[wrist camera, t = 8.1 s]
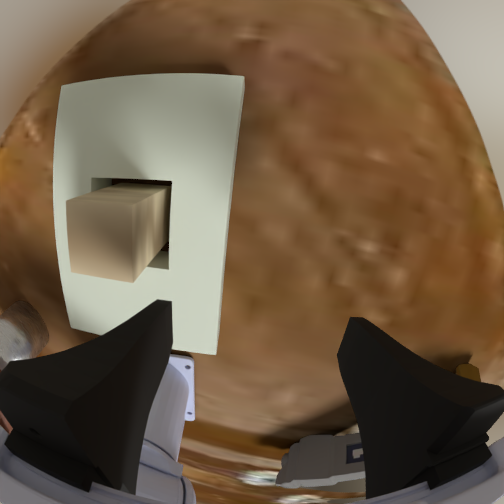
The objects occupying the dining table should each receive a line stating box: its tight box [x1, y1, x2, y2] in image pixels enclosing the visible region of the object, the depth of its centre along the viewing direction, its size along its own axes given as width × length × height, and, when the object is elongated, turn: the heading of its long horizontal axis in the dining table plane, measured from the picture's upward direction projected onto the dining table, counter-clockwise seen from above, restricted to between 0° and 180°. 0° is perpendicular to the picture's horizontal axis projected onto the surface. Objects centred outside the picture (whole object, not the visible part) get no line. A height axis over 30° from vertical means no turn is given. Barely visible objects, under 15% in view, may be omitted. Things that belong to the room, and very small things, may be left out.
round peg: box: [0, 301, 49, 371], centre depth 19 cm, size 6×6×6 cm
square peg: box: [66, 183, 172, 283], centre depth 15 cm, size 4×4×7 cm
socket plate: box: [53, 73, 245, 355], centre depth 17 cm, size 18×12×3 cm, turn 173°
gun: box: [275, 363, 481, 488], centre depth 24 cm, size 3×25×15 cm, turn 116°
